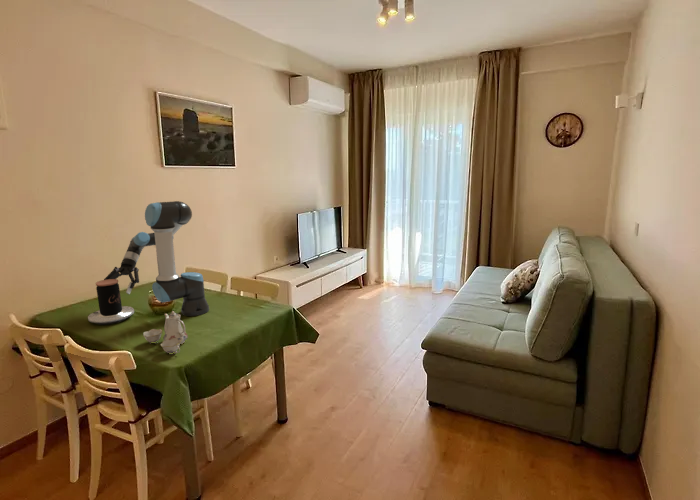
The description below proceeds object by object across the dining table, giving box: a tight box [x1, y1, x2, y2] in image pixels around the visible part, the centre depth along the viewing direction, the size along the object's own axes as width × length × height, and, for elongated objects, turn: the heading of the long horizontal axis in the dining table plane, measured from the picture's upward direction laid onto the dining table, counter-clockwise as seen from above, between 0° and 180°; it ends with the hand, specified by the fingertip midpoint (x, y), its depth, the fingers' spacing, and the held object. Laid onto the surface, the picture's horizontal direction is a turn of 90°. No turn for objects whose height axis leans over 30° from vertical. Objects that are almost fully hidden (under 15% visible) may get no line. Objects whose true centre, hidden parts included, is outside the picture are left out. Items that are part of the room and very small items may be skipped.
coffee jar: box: [95, 278, 123, 316], centre depth 215 cm, size 11×11×18 cm
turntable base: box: [95, 317, 129, 326], centre depth 217 cm, size 16×16×2 cm
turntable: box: [87, 305, 135, 324], centre depth 217 cm, size 22×22×2 cm
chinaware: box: [142, 310, 189, 354], centre depth 183 cm, size 28×17×17 cm, turn 57°
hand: (116, 293), depth 221 cm, fingers open, 13 cm apart
